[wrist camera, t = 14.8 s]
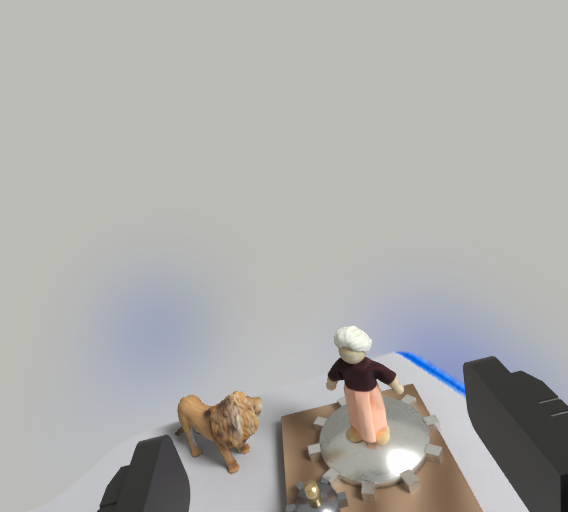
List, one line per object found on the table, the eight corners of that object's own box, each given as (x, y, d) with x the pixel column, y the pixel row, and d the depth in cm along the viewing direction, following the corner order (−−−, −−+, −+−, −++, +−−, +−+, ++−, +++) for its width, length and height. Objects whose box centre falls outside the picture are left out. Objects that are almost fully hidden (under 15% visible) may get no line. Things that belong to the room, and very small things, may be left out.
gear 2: (319, 515, 37) (316, 507, 37) (304, 413, 49) (302, 406, 49) (468, 479, 37) (467, 471, 36) (415, 385, 49) (414, 378, 49)
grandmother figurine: (334, 449, 42) (304, 343, 38) (338, 421, 46) (311, 321, 41) (414, 449, 40) (391, 336, 35) (412, 419, 43) (391, 312, 39)
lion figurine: (284, 445, 48) (262, 381, 45) (260, 484, 44) (235, 417, 41) (189, 423, 56) (165, 367, 53) (161, 455, 51) (134, 396, 48)
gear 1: (290, 545, 35) (281, 520, 34) (286, 492, 40) (278, 469, 39) (354, 530, 35) (346, 504, 34) (342, 478, 40) (336, 455, 39)
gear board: (295, 574, 34) (291, 562, 34) (284, 426, 50) (281, 416, 50) (487, 529, 34) (486, 516, 33) (414, 393, 50) (412, 383, 49)
